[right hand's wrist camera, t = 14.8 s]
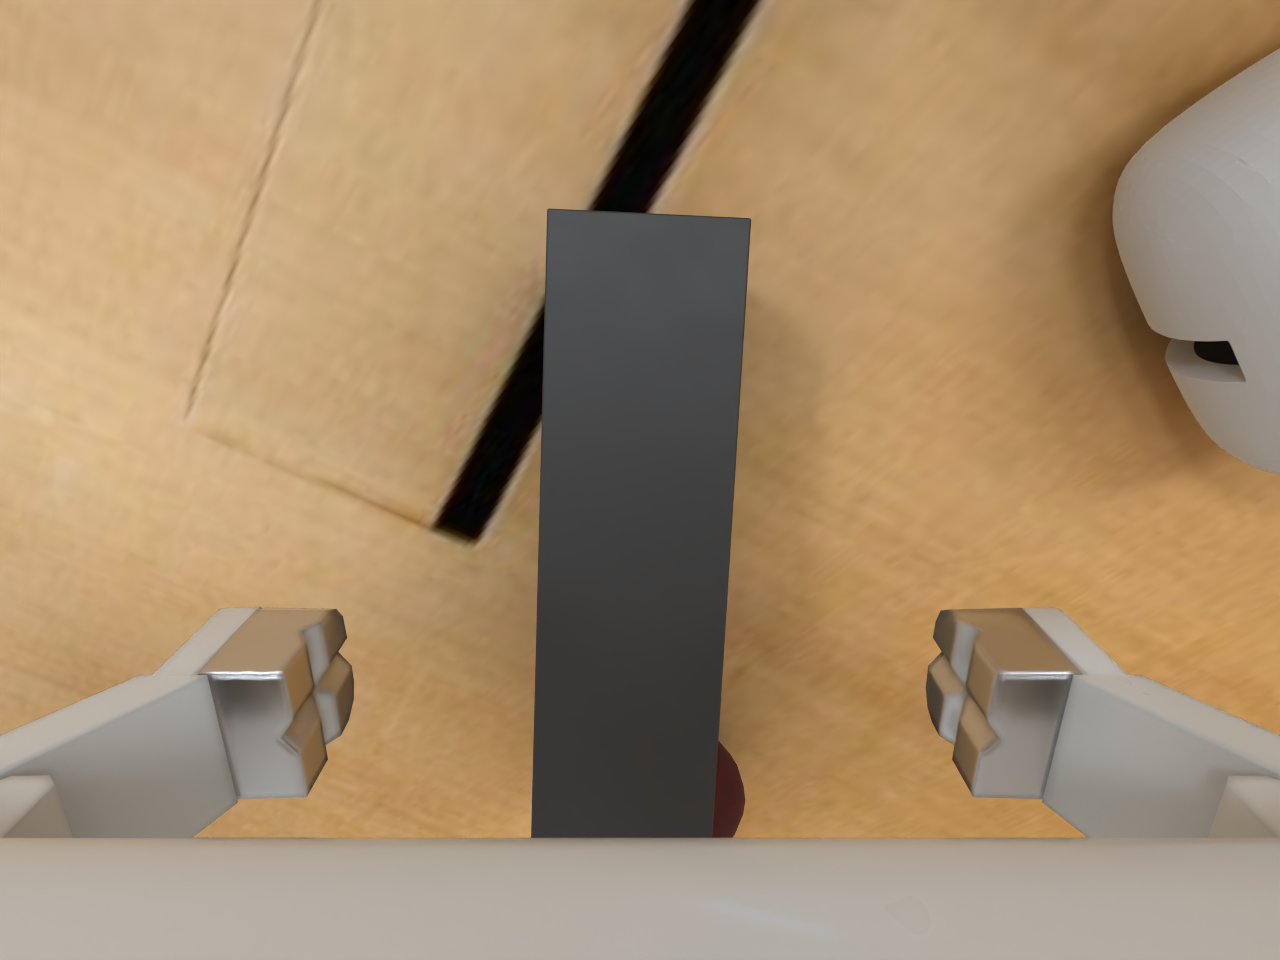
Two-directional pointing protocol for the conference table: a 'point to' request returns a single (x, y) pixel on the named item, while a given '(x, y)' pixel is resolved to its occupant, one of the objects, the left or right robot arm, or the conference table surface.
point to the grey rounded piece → (1214, 256)
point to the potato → (727, 796)
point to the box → (635, 519)
